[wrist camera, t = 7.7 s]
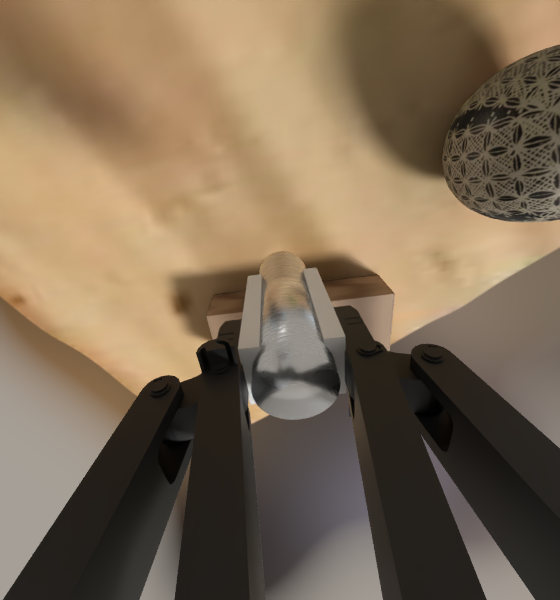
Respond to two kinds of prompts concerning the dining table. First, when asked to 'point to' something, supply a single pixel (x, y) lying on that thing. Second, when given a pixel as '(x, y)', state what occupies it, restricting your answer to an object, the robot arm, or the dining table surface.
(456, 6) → the dining table surface
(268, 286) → the steel peg
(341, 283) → the hole block
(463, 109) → the decorative egg
